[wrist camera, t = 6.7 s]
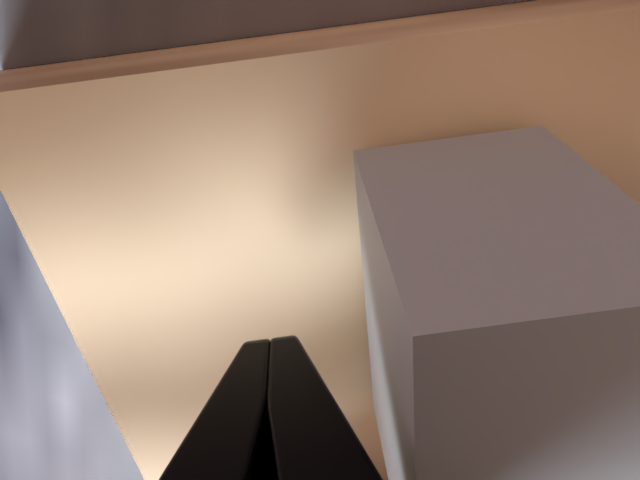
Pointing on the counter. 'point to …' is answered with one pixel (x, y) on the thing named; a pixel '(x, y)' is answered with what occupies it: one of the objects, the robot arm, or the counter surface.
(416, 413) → the light grey block
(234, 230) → the gauge base
